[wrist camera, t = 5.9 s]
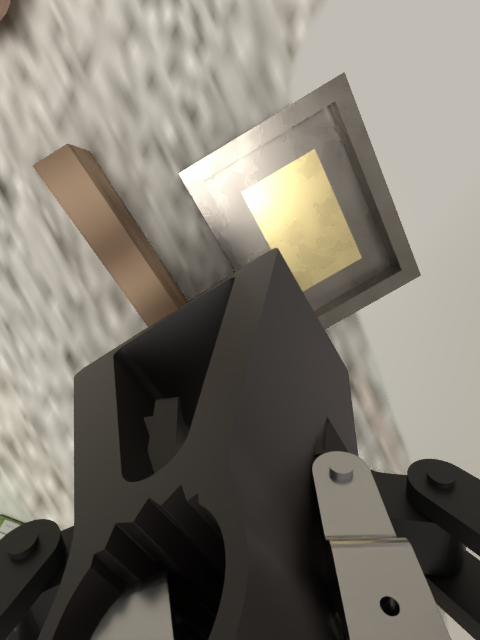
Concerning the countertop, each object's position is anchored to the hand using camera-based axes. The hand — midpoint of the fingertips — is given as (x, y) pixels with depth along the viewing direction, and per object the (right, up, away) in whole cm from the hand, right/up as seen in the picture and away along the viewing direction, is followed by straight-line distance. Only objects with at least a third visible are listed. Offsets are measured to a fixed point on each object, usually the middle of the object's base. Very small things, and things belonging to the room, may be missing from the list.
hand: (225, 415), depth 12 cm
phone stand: (0, +1, +3) cm, 3 cm away
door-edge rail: (-4, +3, +19) cm, 20 cm away
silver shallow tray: (+5, +11, +17) cm, 21 cm away
